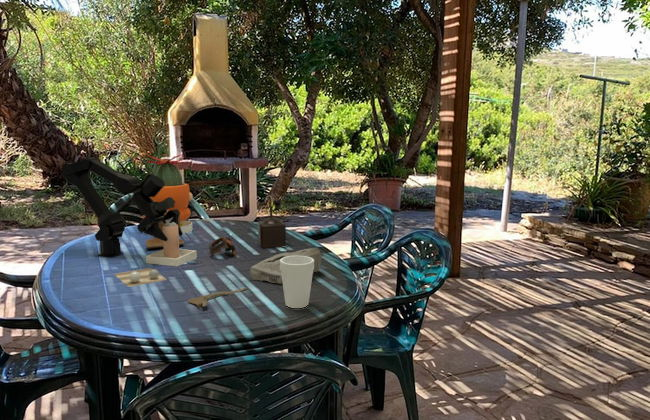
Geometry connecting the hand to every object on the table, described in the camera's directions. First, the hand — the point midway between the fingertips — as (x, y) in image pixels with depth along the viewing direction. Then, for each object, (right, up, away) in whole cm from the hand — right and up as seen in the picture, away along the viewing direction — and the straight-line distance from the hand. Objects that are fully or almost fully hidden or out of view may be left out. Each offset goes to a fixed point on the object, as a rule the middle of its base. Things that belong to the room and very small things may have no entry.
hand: (174, 237), depth 179 cm
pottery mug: (+16, -8, +11) cm, 21 cm away
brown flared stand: (-11, -5, +24) cm, 27 cm away
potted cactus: (-18, 0, +49) cm, 52 cm away
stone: (+41, -12, -13) cm, 45 cm away
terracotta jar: (-2, -8, +2) cm, 8 cm away
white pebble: (-5, -13, -23) cm, 27 cm away
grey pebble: (-1, -12, -19) cm, 23 cm away
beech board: (-6, -12, -18) cm, 22 cm away
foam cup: (+46, -17, -39) cm, 63 cm away
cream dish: (-1, -9, +2) cm, 9 cm away
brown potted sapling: (+32, -4, +30) cm, 44 cm away
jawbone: (+25, -16, -35) cm, 46 cm away
